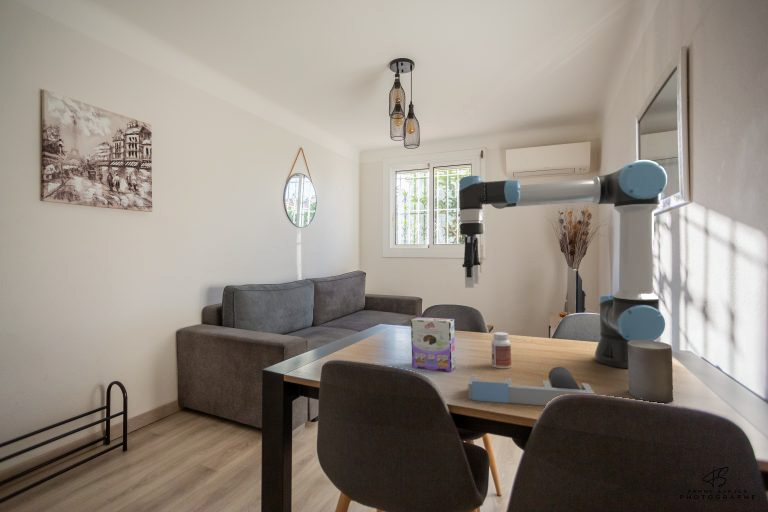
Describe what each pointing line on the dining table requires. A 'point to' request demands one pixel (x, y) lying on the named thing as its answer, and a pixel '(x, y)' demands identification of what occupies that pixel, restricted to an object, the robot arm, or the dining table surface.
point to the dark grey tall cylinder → (562, 378)
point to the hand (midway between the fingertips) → (472, 285)
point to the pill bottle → (501, 350)
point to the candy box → (433, 343)
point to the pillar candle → (650, 370)
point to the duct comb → (518, 392)
